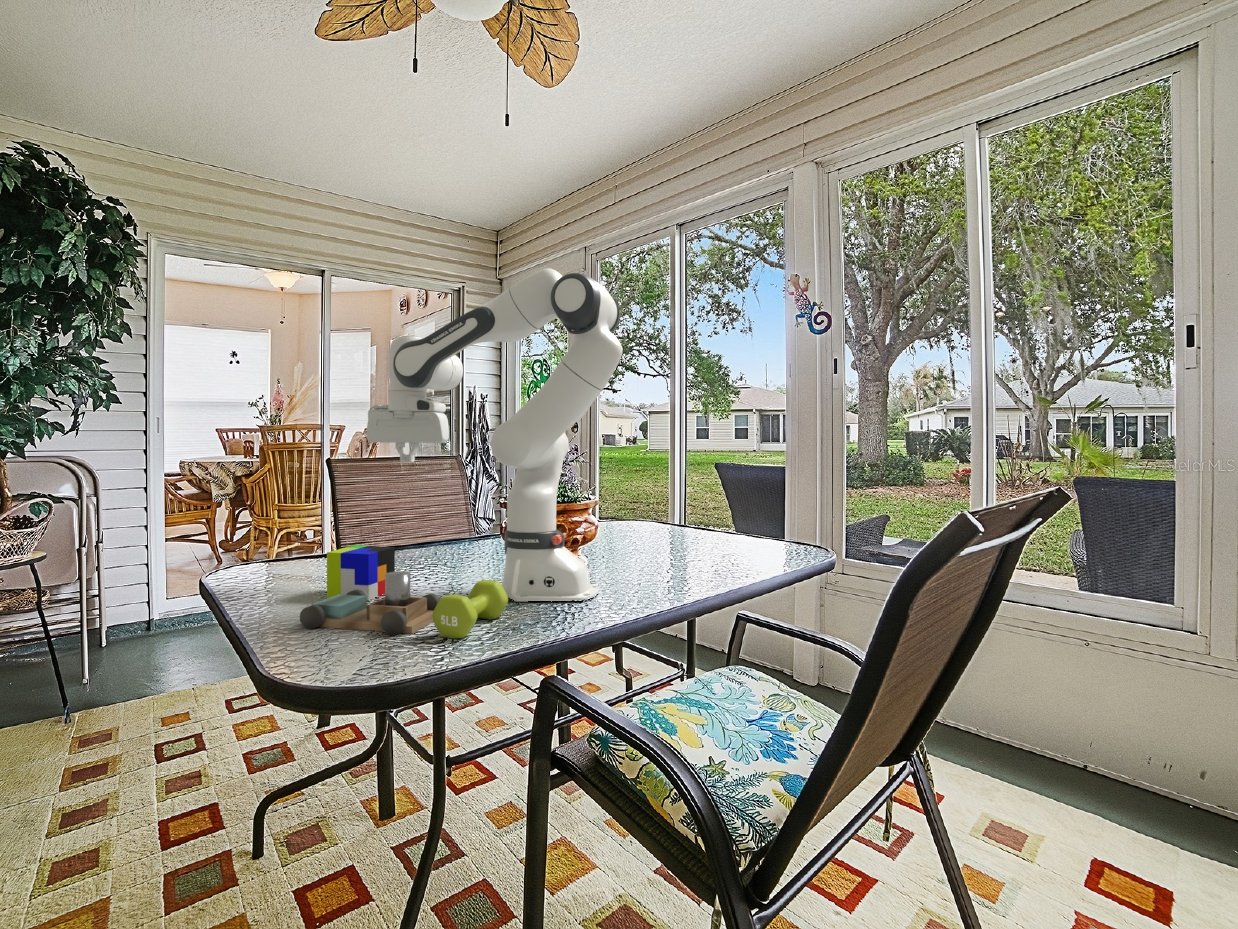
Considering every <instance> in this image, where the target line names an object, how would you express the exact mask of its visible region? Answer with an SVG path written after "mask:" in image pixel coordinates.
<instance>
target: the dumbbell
mask: <svg viewBox="0 0 1238 929" xmlns="http://www.w3.org/2000/svg"><path fill="white" fill-rule="evenodd" d="M439 599H440V600H439V602H438V604H437V605H436V607H435V609H434V611H433V614H432V619H433V622H432V623H433V624H434V626H435V628H436V630H437V631H438V634H439V635H440V637H443V638H446V637H447V638H446V639H456V640H457V639H458V638H459V639H463V638H465V637H467V636H468V635H469V634H470V633H471V631H472V629H473V627H474V625H475V624H476V621H477V619H482V620H483V619H484V620H495V619H498V618H499V617H500V616H502V614H503V613H504V611H505V609H506V607H507V605H508V603H509V597H507V594H506V592H505V590H504V588H503V586H502V582H500V581H497V580H492V579H491V580H490V579H484V580H483V579H482V580H478V581H477V582H476V583H475V584H474V585H473V587H472V588H471V589H470V592H469V594H468V596H466V595H461V594H447V595H444V596H442V597H441V598H439ZM459 639H458V640H459Z"/></svg>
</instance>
